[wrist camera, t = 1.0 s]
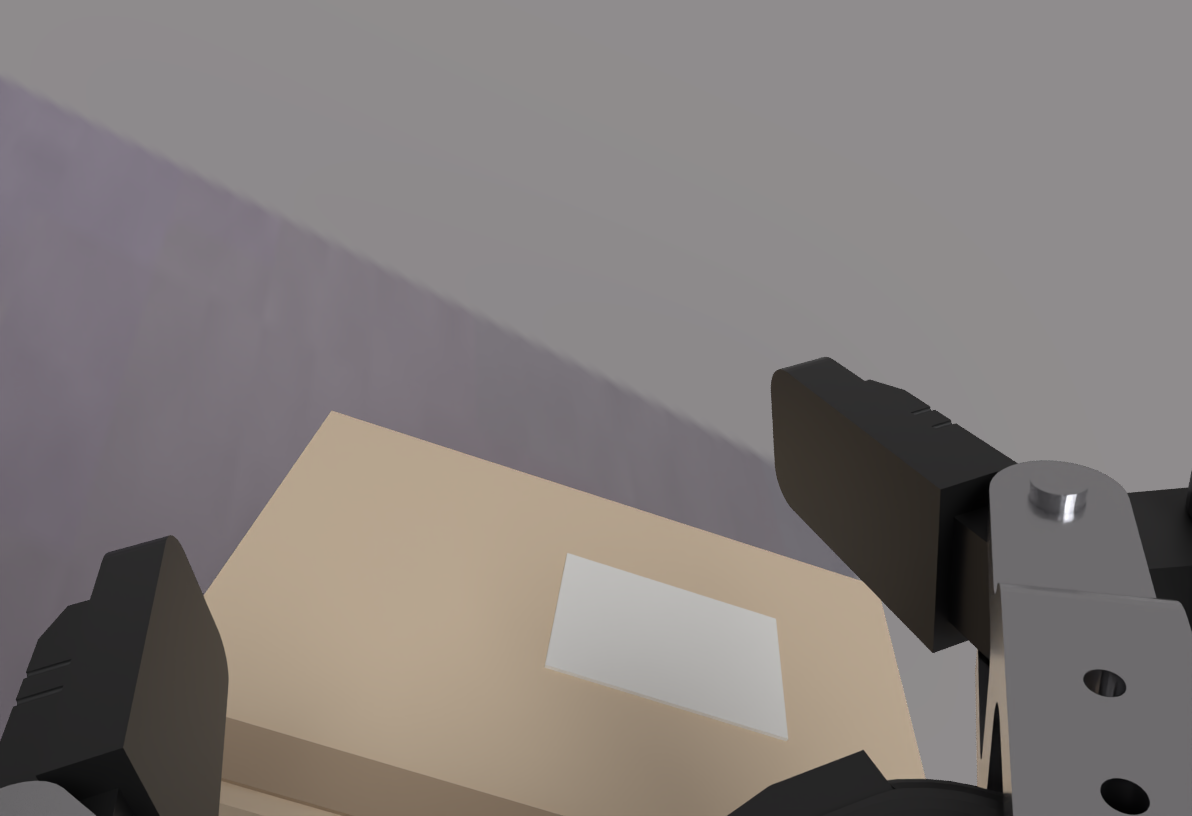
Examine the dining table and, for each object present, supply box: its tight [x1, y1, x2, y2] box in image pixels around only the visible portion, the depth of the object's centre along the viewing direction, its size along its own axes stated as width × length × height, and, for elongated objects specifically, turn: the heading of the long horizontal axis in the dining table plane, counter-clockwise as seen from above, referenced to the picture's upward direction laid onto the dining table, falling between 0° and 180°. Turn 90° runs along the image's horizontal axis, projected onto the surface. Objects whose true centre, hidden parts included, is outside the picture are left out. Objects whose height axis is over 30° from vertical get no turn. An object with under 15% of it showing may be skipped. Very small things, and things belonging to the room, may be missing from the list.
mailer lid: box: [204, 411, 926, 816], centre depth 22 cm, size 17×12×1 cm
